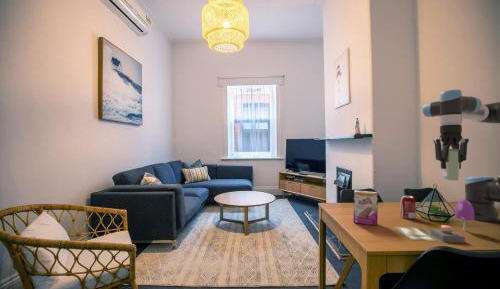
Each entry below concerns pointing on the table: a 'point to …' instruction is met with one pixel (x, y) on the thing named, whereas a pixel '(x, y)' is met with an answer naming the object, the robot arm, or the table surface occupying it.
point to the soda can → (408, 207)
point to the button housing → (447, 236)
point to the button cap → (446, 229)
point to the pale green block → (452, 164)
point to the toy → (464, 212)
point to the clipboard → (418, 234)
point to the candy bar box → (365, 207)
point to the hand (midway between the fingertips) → (450, 176)
